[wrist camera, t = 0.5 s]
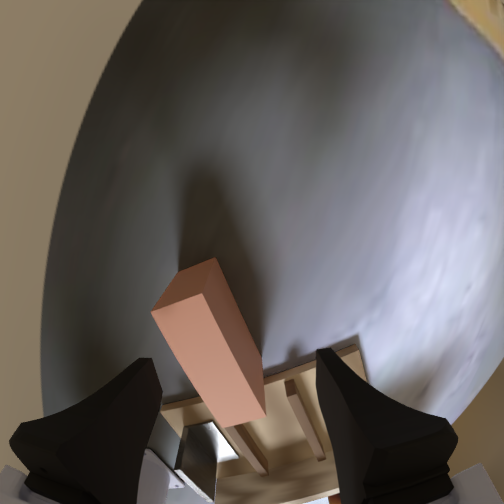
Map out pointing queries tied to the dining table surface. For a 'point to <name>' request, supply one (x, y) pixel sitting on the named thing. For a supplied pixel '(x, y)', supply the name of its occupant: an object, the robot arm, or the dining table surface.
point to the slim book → (213, 343)
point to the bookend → (202, 457)
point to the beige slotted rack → (275, 441)
